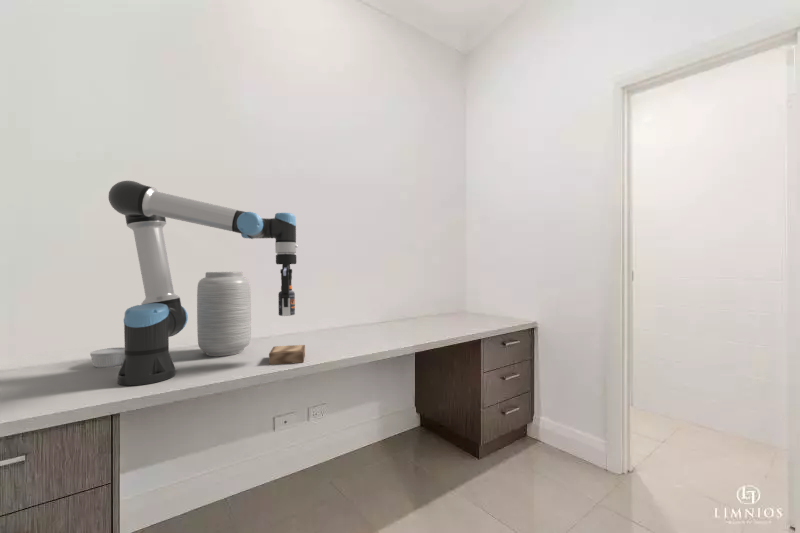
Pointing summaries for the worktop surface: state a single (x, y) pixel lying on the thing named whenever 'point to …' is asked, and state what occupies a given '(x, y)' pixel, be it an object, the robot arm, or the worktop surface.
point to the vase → (223, 313)
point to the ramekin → (108, 357)
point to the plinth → (287, 354)
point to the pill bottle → (292, 302)
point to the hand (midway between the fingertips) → (287, 314)
